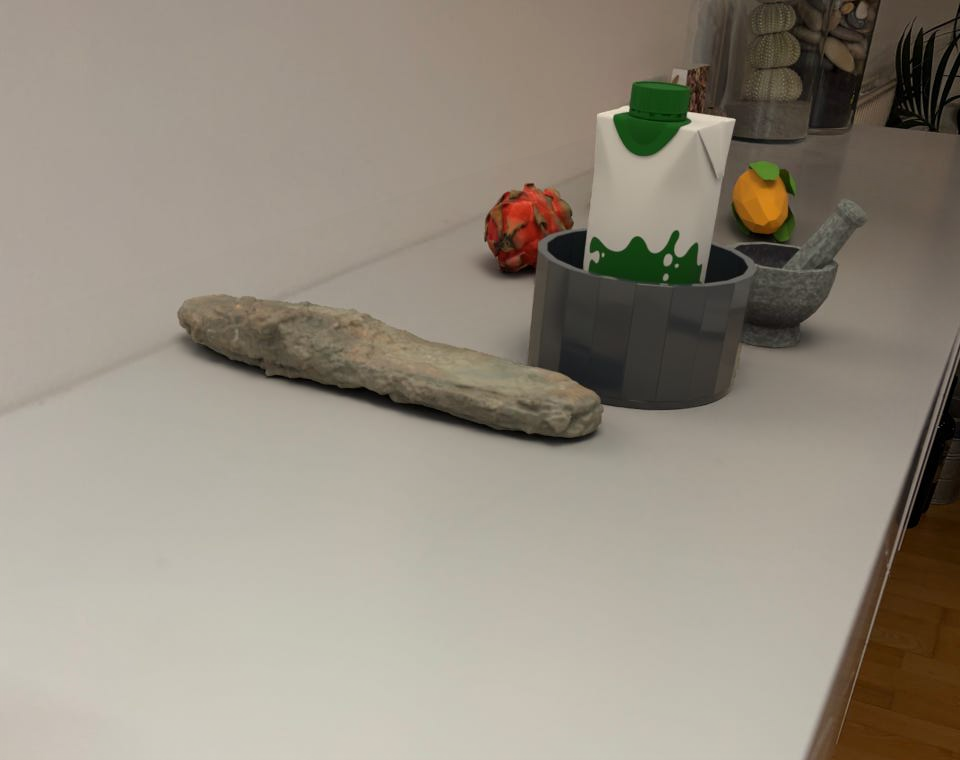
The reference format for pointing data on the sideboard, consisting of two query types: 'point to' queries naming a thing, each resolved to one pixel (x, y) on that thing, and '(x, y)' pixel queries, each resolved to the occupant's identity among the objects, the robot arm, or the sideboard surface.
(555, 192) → the dragon fruit
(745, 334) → the mortar and pestle
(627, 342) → the pot
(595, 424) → the long grey stone
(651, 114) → the milk carton
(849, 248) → the sideboard surface
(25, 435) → the sideboard surface
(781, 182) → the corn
